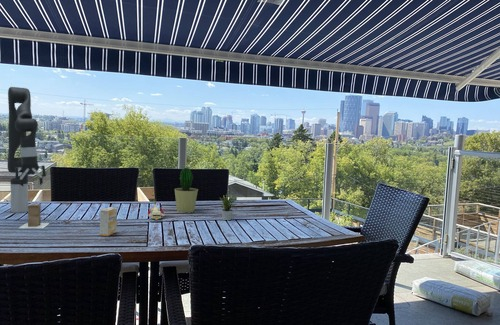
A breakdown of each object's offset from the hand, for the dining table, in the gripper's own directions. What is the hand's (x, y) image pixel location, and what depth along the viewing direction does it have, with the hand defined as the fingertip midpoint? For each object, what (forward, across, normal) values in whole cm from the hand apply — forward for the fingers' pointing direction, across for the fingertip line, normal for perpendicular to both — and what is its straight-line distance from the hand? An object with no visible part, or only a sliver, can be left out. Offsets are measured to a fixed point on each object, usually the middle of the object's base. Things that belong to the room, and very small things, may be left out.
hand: (31, 185), depth 210 cm
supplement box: (+24, -30, +38) cm, 54 cm away
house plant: (+29, -100, +36) cm, 111 cm away
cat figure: (+26, -65, +8) cm, 71 cm away
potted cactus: (+27, -88, +2) cm, 92 cm away
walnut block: (+21, +1, +7) cm, 22 cm away
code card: (+21, +1, +7) cm, 22 cm away
